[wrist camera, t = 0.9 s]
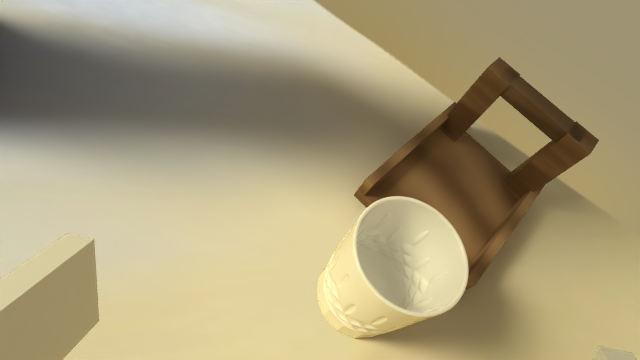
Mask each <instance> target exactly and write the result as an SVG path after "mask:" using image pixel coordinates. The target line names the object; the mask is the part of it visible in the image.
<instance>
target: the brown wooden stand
mask: <svg viewBox="0 0 640 360" xmlns="http://www.w3.org/2000/svg"><path fill="white" fill-rule="evenodd" d="M519 75H520V74H519V73H518V72H516V71H515V70H514V69H513V68H512V67H511V66H509V65H508V64H507V63H506V62H505V61H503V60H502V59H501V58H500V57H499V58H498V59H497V60H496V61H495V62H493V63H492V64H491V65H490V66H489V67H488V68H487V69H486V70H485V71H484V72H483V73H482V75H481V76H480V77H479V78H478V80H476V82H475V83H474V84H473V85H472V86H471V87H470V89H469V90H468V91H467V92H466V93H465V95H464V96H463V97H462V98H461V99H460V100H459V102H458V103H456V102H454V103H453V104H452V105H451V106H449V107H448V108H447V109H446V110H445V111H444V112H443V113H441V114H440V115H439V116H438V117H437V118H436V119H434V120H433V121H432V122H431V123H430V124H429V125H428V126H426V127H425V128H424V129H423V130H422V131H421V132H420V133H418V134H417V135H416V136H415V137H414V138H413V139H412V140H410V141H409V142H408V143H407V144H406V145H405V146H403V147H402V148H401V149H400V150H399V151H398V152H397V153H395V154H394V155H393V156H392V157H391V158H390V159H389V160H387V161H386V162H385V163H384V164H383V165H382V166H380V167H379V168H378V169H377V170H376V171H375V172H374V173H372V174H371V175H370V176H369V177H368V178H367V179H366V180H365V181H364V182H363V184H362V185H361V186H360V188H359V189H358V190H357V192H356V193H355V194H354V196H355V197H356V198H357V199H358V200H359V201H360V202H361V203H362V204H363V205H365V206H366V207H368V206H369V205H371V204H372V203H374V202H376V201H378V200H380V199H383V198H386V197H392V196H403V197H410V198H413V199H417V200H419V201H422V202H424V203H426V204H428V205H430V206H431V207H433V208H434V209H436V210H437V211H438V212H440V213H441V214H442V215H443V216H444V217H445V218H446V219H447V220H448V221H449V222H450V223H451V225H452V226H453V227H454V229H455V230H456V232H457V233H458V235H459V237H460V238H461V240H462V243H463V245H464V248H465V251H466V254H467V259H468V267H469V274H468V282H467V286H466V289H468V288H470V287H472V286H474V285H475V284H476V283H477V281H478V280H479V279H480V277H481V276H482V274H483V273H484V271H485V270H486V269H487V267H488V266H489V264H490V263H491V261H492V260H493V259H494V257H495V256H496V254H497V253H498V251H499V250H500V249H501V247H502V246H503V244H504V243H505V241H506V240H507V238H508V237H509V236H510V234H511V233H512V231H513V230H514V228H515V227H516V226H517V224H518V223H519V221H520V220H521V218H522V217H523V216H524V214H525V213H526V211H527V210H528V208H529V207H530V206H531V204H532V203H533V201H534V200H535V198H536V197H537V196H538V194H539V193H540V191H541V190H542V188H543V187H544V185H545V184H546V183H548V182H549V181H551V180H552V179H554V178H555V177H557V176H558V175H560V174H561V173H563V172H564V171H566V170H567V169H568V168H570V167H572V166H573V165H574V164H576V163H577V162H579V161H580V160H582V159H583V158H585V157H586V156H588V155H589V154H590V153H591V152H592V150H593V149H594V147H595V145H596V144H597V142H598V141H599V140H598V139H597V138H596V137H594V136H593V135H592V134H591V133H590V132H588V131H587V130H586V129H585V128H584V127H582V126H581V125H580V124H579V123H578V122H574V121H573V120H572V119H570V118H569V117H568V116H567V115H566V114H564V113H563V112H562V111H561V110H559V109H558V108H557V107H556V106H555V105H554V104H552V103H551V102H550V101H549V100H548V99H546V98H545V97H544V96H543V95H542V94H540V93H539V92H538V91H537V90H536V89H535V88H533V87H532V86H531V85H530V84H529V83H527V82H526V81H525V80H524V79H523V78H521V77H520V76H519ZM499 96H501V97H502V98H504V99H505V100H506V101H507V102H508V103H509V104H511V105H512V106H513V107H514V108H515V109H517V110H518V111H519V112H520V113H521V114H522V115H524V116H525V117H526V118H527V119H528V120H529V121H530V122H532V123H533V124H534V125H535V126H536V127H537V128H539V129H540V130H541V131H542V132H544V133H545V134H546V135H547V136H548V137H549V138H550V139H552V141H551V142H549V143H548V144H547V145H546V146H544V147H543V148H542V149H540V150H539V151H538V152H537V153H535V154H534V155H533V156H531V157H530V158H529V159H528V160H526V161H525V162H524V163H522V164H521V165H520V166H519V167H517V168H516V169H515V170H513V171H512V172H510V171H509V170H508V169H507V168H506V167H504V166H503V165H502V164H501V163H500V162H499V161H498V160H497V159H496V158H494V157H493V156H492V155H491V154H490V153H489V152H488V151H487V150H485V149H484V148H483V147H482V146H481V145H480V144H479V143H478V142H476V141H475V140H474V139H473V138H472V137H471V136H470V135H469V134H467V133H466V132H465V131H466V130H467V129H468V128H469V127H470V126H471V125H472V124H473V123H474V122H475V121H476V120H477V119H478V118H479V117H480V116H481V115H482V114H483V113H484V112H485V111H486V110H487V109H488V107H490V105H491V104H492V103H493V102H494V101H495V100H496V99H497V98H498V97H499ZM466 289H465V290H466Z"/></svg>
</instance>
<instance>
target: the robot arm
mask: <svg viewBox="0 0 640 360" xmlns="http://www.w3.org/2000/svg"><path fill="white" fill-rule="evenodd" d="M98 321H99V312H98V295H97V278H96V262H95V245H94V239H91V238H87V237H82V236H77V235H73V234H68V233H67V234H66V235H64V236H63V237H61V238H60V239H59V240H57V241H56V242H54V243H53V244H51V245H50V246H48V247H47V248H45V249H44V250H42V251H41V252H40V253H38V254H37V255H35V256H34V257H32V258H31V259H29V260H28V261H26V262H25V263H23V264H22V265H21V266H19V267H18V268H16V269H15V270H13V271H12V272H10V273H9V274H7V275H6V276H4V277H3V278H2V279H0V360H63V359H64V358H65V356H66V355H67V354H68V353H69V352H70V351H71V350H72V349H73V348H74V347H75V346H76V345H77V344H78V343H79V342H80V340H81V339H82V338H83V337H84V336H85V335H86V334H87V333H88V332H89V331H90V330H91V329H92V328H93V327H94V326H95V324H96V323H97V322H98ZM592 360H636V358H635V357H634V356H633V354H632V353H629V352H625V351H620V350H615V349H611V348H606V347H601V346H599V347H598V349H597V351H596V353H595V355H594V357H593V359H592Z"/></svg>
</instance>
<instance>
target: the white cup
mask: <svg viewBox="0 0 640 360" xmlns="http://www.w3.org/2000/svg"><path fill="white" fill-rule="evenodd" d="M468 274H469V267H468V259H467V254H466V251H465V248H464V245H463V243H462V240H461V238H460V237H459V235H458V233H457V232H456V230H455V229H454V227H453V226H452V225H451V223H450V222H449V221H448V220H447V219H446V218H445V217H444V216H443V215H442V214H441V213H440V212H438V211H437V210H436V209H434V208H433V207H431V206H430V205H428V204H426V203H424V202H422V201H419V200H417V199H413V198H410V197H403V196H392V197H386V198H383V199H380V200H378V201H376V202H374V203H372V204H371V205H369V206H368V207H367V208H366V209H365V210H364V211H363V213H362V214H361V215H360V217H359V218H358V219H357V221H356V222H355V224H354V225H353V226H352V228H351V229H350V230H349V232H348V233H347V234H346V236H345V237H344V238H343V240H342V241H341V243H340V244H339V246H338V247H337V249H336V250H335V252H334V254H333V255H332V256H331V258H330V260H329V263H328V265H327V266H326V268H325V269H324V271H323V272H322V274H321V275H320V277H319V280H318V289H317V299H318V302H319V305H320V308H321V311H322V314H323V316H324V317H325V318H326V319H327V321H328V322H329V323H330V324H331V325H332V326H333V327H334V329H335V330H336V331H339V332H341V333H343V334H345V335H348V336H350V337H352V338H365V337H374V336H376V335H379V334H383V333H388V332H391V331H394V330H397V329H401V328H404V327H406V326H409V325H412V324H415V323H417V322H420V321H423V320H426V319H428V318H431V317H434V316H437V315H440V314H442V313H444V312H446V311H448V310H450V309H451V308H452V307H453V306H455V305H456V304H457V302H458V301H459V300H460V299H461V297H462V295H463V293H464V291H465V289H466V286H467V282H468Z"/></svg>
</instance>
